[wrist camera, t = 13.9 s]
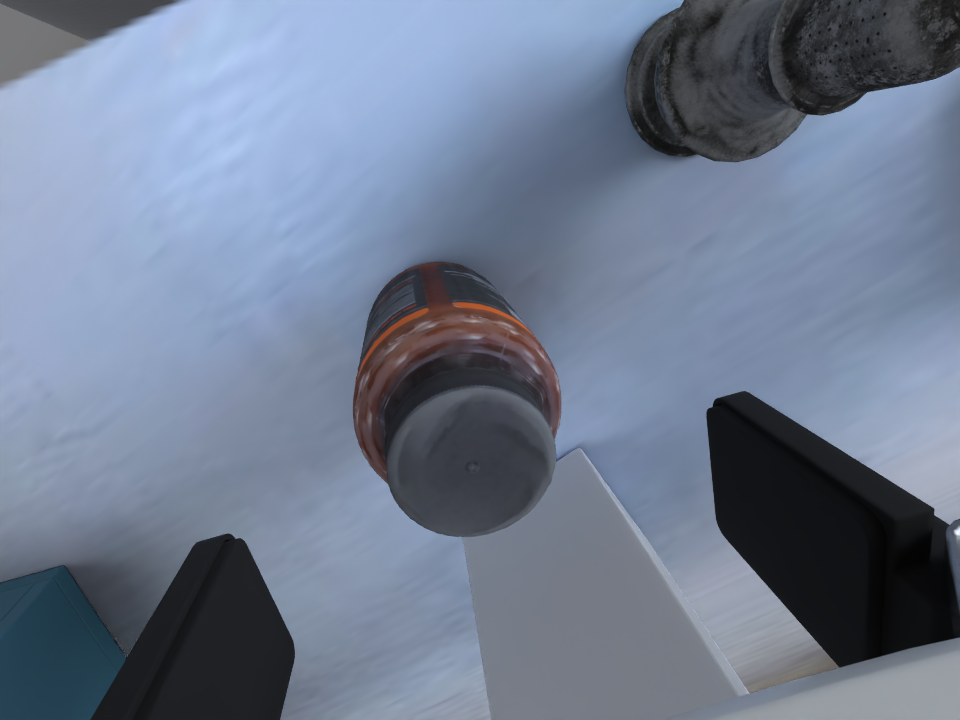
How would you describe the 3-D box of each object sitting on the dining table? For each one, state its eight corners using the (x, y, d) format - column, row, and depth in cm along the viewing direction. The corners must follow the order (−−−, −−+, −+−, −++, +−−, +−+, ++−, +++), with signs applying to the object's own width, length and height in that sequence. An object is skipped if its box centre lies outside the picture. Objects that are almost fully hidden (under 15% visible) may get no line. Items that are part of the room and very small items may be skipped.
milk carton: (645, 536, 28) (1071, 1179, 10) (535, 607, 28) (752, 1332, 11) (578, 443, 25) (986, 1079, 8) (459, 524, 26) (577, 1287, 8)
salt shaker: (601, 149, 21) (829, 119, 10) (641, -22, 19) (979, -303, 8) (731, 176, 22) (1074, 178, 11) (781, 17, 20) (1254, -181, 9)
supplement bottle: (353, 375, 23) (309, 552, 12) (387, 240, 21) (370, 309, 10) (484, 405, 24) (547, 589, 13) (525, 281, 22) (636, 379, 12)
